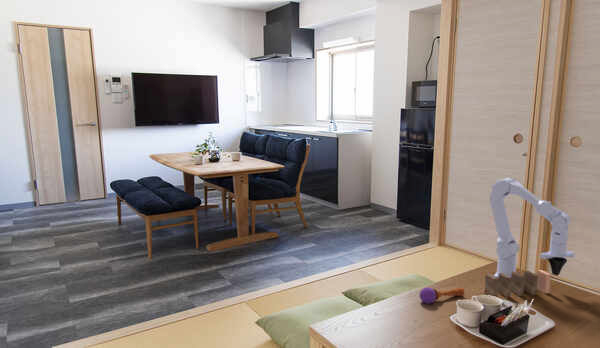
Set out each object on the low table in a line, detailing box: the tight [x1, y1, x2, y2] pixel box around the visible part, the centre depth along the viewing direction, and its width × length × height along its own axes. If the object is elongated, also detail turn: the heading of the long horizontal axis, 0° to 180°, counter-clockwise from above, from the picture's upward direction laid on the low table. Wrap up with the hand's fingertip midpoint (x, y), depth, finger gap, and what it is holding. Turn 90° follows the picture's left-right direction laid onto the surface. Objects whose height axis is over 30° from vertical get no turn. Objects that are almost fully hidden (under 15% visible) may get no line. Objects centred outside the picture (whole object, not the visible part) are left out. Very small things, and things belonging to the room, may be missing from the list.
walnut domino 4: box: [523, 270, 538, 296], centre depth 169 cm, size 2×5×8 cm, turn 11°
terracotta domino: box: [536, 269, 552, 294], centre depth 170 cm, size 2×5×8 cm, turn 11°
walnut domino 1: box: [483, 273, 498, 298], centre depth 165 cm, size 2×5×8 cm, turn 11°
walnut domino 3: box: [510, 271, 525, 297], centre depth 167 cm, size 2×5×8 cm, turn 12°
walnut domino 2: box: [497, 273, 512, 298], centre depth 166 cm, size 2×5×8 cm, turn 11°
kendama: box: [419, 287, 465, 305], centre depth 161 cm, size 6×6×20 cm
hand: (555, 274), depth 170 cm, fingers closed
